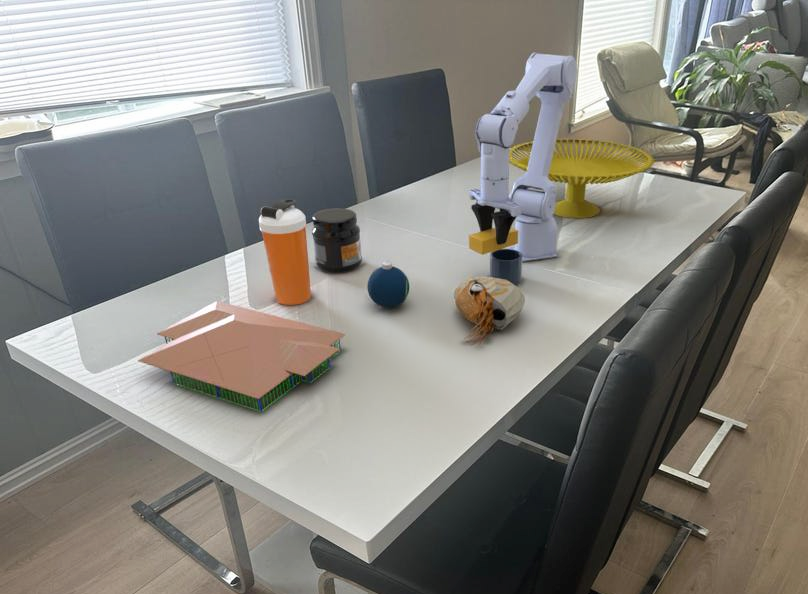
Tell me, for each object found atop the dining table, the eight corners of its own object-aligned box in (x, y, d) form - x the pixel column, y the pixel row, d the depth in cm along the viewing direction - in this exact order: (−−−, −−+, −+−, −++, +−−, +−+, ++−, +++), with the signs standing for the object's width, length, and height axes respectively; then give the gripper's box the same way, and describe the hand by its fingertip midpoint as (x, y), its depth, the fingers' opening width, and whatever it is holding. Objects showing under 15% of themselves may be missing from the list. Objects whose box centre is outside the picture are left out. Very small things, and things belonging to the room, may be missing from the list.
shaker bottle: (323, 292, 146) (312, 200, 136) (300, 310, 139) (287, 214, 128) (287, 286, 148) (273, 195, 138) (262, 303, 141) (246, 208, 131)
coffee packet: (504, 237, 152) (504, 224, 151) (517, 243, 149) (518, 230, 148) (468, 248, 147) (468, 235, 145) (482, 254, 144) (482, 241, 142)
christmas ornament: (399, 317, 136) (396, 271, 131) (361, 311, 139) (357, 264, 133) (417, 300, 143) (415, 255, 138) (380, 294, 145) (377, 249, 140)
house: (275, 420, 106) (267, 375, 102) (123, 370, 118) (110, 329, 114) (360, 353, 124) (356, 312, 120) (220, 316, 136) (212, 278, 132)
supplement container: (372, 265, 159) (368, 214, 152) (334, 278, 152) (329, 226, 146) (343, 252, 165) (339, 204, 158) (306, 265, 158) (300, 215, 152)
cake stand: (668, 203, 199) (676, 150, 191) (613, 247, 169) (619, 186, 162) (544, 180, 217) (547, 131, 209) (475, 216, 188) (475, 161, 180)
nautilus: (501, 360, 123) (425, 348, 128) (536, 304, 140) (468, 295, 145) (499, 322, 119) (420, 311, 124) (536, 268, 135) (465, 261, 140)
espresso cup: (514, 272, 156) (514, 247, 153) (526, 284, 150) (527, 258, 147) (484, 276, 154) (485, 250, 151) (496, 288, 148) (496, 262, 145)
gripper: (457, 172, 143) (458, 234, 150) (503, 188, 133) (501, 254, 140) (483, 166, 147) (483, 227, 154) (530, 182, 137) (527, 246, 144)
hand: (493, 239), depth 147 cm, fingers closed on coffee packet, 4 cm apart
